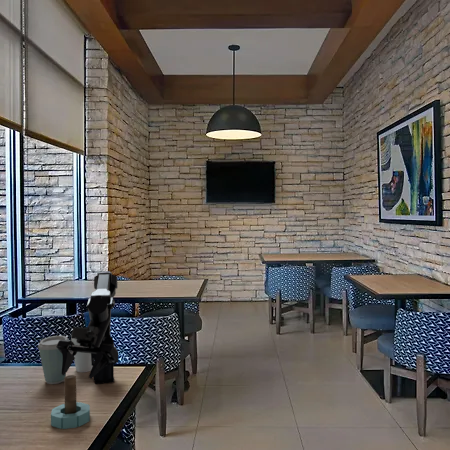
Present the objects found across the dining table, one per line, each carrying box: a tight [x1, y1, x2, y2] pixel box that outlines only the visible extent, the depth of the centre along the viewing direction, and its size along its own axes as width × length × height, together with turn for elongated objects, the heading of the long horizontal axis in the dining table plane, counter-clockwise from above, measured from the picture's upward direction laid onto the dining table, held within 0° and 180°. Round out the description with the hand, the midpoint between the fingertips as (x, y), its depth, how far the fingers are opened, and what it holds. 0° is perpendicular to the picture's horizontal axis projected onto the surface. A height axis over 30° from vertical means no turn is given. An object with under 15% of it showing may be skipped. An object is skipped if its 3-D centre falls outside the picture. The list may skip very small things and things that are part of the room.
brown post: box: [63, 374, 77, 414], centre depth 135 cm, size 3×3×12 cm
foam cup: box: [70, 337, 93, 373], centre depth 178 cm, size 10×9×13 cm
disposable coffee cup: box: [37, 335, 69, 385], centre depth 166 cm, size 11×11×15 cm
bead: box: [50, 401, 91, 430], centre depth 135 cm, size 10×10×3 cm
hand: (76, 376), depth 138 cm, fingers open, 9 cm apart
